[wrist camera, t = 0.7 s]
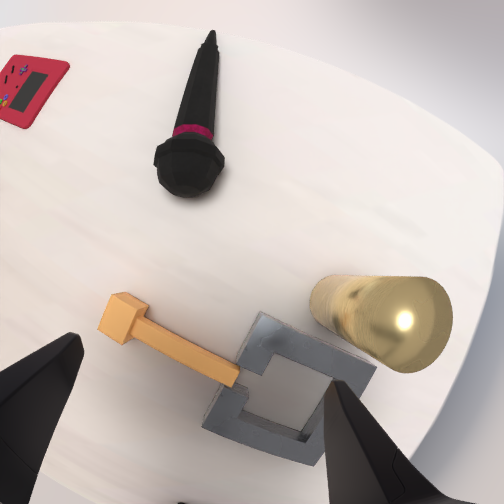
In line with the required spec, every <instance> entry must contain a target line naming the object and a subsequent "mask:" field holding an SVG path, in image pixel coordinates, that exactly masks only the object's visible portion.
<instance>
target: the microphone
mask: <svg viewBox="0 0 504 504" xmlns="http://www.w3.org/2000/svg"><path fill="white" fill-rule="evenodd" d="M218 62H219V52H218V46H217V45H216V32H215V30H211V31H210V33H209V34H208V36H207V38H206V40H205V42H204V43H203V44H201V48H199V49H198V52H197V55H196V57H195V60H194V63H193V66H192V69H191V72H190V76H189V79H188V82H187V85H186V88H185V91H184V95H183V98H182V102H181V105H180V108H179V112H178V115H177V119H176V123H175V126H174V130H173V134H172V136H173V137H171V138H169V139H167V140H166V141H165V143H163V144H161V145H159V146H157V149H156V153H155V158H154V166H155V167H157V175H158V179H159V183H160V184H161V185H162V186H163V187H164V188H166V189H167V190H168V191H169V192H170V193H172V194H173V195H176V196H180V197H195V196H199V195H201V194H202V193H204V192H206V191H208V190H209V189H210V188H211V186H212V185H213V183H214V181H215V179H216V177H217V175H219V174H220V172H221V170H222V169H223V167H224V160H225V157H224V156H223V155H222V153H221V152H220V151H219V149H218V148H217V147H216V146H215V145H214V143H213V142H212V141H211V140H212V138H213V134H214V117H215V102H216V87H217V74H218Z"/></svg>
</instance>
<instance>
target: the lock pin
mask: <svg viewBox="0 0 504 504" xmlns="http://www.w3.org/2000/svg"><path fill="white" fill-rule="evenodd" d="M148 306H149V305H147V304H145V303H143V302H142V301H140V300H138V299H137V298H135V297H133V296H131V295H130V294H128V293H126V292H122V293H116V294H112V295H111V297H110V299H109V302H108V304H107V306H106V309H105V311H104V314H103V316H102V319H101V321H100V324H99V326H98V329H97V330H99V331H100V332H102V333H104V334H105V335H107V336H108V337H110V338H111V339H113V340H114V341H116V342H118V343H119V344H121V345H123V344H125V343H126V342H128V341H129V340H131V339H133V338H134V337H135V338H137V339H138V340H140V341H142V342H144V343H145V344H147V345H149V346H151V347H152V348H154V349H156V350H158V351H159V352H161V353H163V354H165V355H167V356H169V357H170V358H172V359H174V360H176V361H178V362H180V363H182V364H184V365H186V366H188V367H190V368H192V369H194V370H196V371H198V372H200V373H202V374H204V375H206V376H208V377H210V378H212V379H214V380H216V381H218V382H220V383H223V384H225V385H227V386H229V387H232V385H233V383H234V382H235V380H236V378H237V376H238V374H239V373H240V366H238V365H236V364H233V363H231V362H229V361H227V360H225V359H223V358H221V357H219V356H217V355H215V354H213V353H211V352H209V351H207V350H205V349H203V348H201V347H199V346H197V345H195V344H193V343H191V342H189V341H187V340H185V339H183V338H181V337H179V336H178V335H176V334H174V333H172V332H170V331H168V330H167V329H165V328H163V327H161V326H159V325H158V324H156V323H154V322H152V321H150V320H149V319H147V318H145V317H144V315H145V313H146V310H147V308H148Z"/></svg>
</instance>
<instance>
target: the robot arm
mask: <svg viewBox="0 0 504 504" xmlns="http://www.w3.org/2000/svg"><path fill="white" fill-rule="evenodd" d="M83 357H84V348H83V345H82V341H81V337H80V336H79V335H78V334H75V333H72V332H69V333H67V334H65V335H63V336H61V337H60V338H58V339H56V340H54V341H53V342H51V343H49V344H47V345H46V346H44V347H42V348H40V349H39V350H37V351H35V352H33V353H32V354H30V355H28V356H26V357H25V358H23V359H21V360H20V361H18V362H16V363H14V364H13V365H11V366H9V367H7V368H6V369H4V370H2V371H1V372H0V504H28V503H29V501H30V497H31V494H32V491H33V488H34V485H35V482H36V479H37V476H38V475H37V474H38V472H39V470H40V467H41V464H42V461H43V459H44V456H45V453H46V451H47V448H48V445H49V443H50V440H51V438H52V435H53V433H54V430H55V428H56V426H57V423H58V421H59V418H60V416H61V414H62V411H63V409H64V407H65V405H66V402H67V400H68V398H69V396H70V393H71V391H72V389H73V386H74V383H75V380H76V377H77V374H78V371H79V368H80V365H81V362H82V360H83ZM324 446H325V456H326V466H327V477H328V489H329V502H330V504H475V503H470V502H465V501H460V500H456V499H452V498H450V497H448V496H446V495H444V494H442V493H441V492H440V491H439V490H438V489H437V488H436V487H434V485H433V484H431V483H430V482H429V481H428V480H427V479H426V478H425V477H424V476H423V475H422V474H421V473H420V472H419V471H418V470H417V469H416V468H415V467H414V466H413V465H412V464H411V463H410V461H409V460H408V459H407V458H406V457H405V455H404V454H403V453H402V452H401V450H400V449H399V448H398V447H397V446H396V444H395V443H394V442H393V441H392V439H391V438H390V437H389V436H388V434H387V433H386V432H385V431H384V430H383V428H382V427H381V426H380V425H379V423H378V422H377V421H376V420H375V418H374V417H373V416H372V415H371V413H370V412H369V411H368V410H367V408H366V407H365V406H364V405H363V403H362V402H361V401H360V400H359V398H358V397H357V396H356V395H355V393H354V392H353V391H352V390H351V388H350V387H349V386H348V385H347V383H346V382H345V381H344V380H332V381H331V383H330V385H329V387H328V389H327V391H326V393H325V395H324ZM397 448H398V449H397ZM178 504H184V503H178Z"/></svg>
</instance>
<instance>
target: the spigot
mask: <svg viewBox="0 0 504 504" xmlns="http://www.w3.org/2000/svg"><path fill="white" fill-rule="evenodd" d="M310 309H311V312H312V315H313V317H314V318H315V319H316V321H317V322H319V323H320V324H321V325H323V326H324V327H326V328H327V329H329V330H331V331H332V332H334V333H335V334H337V335H338V336H340V337H341V338H343V339H345V340H346V341H348V342H349V343H351V344H352V345H354V346H356V347H357V348H359V349H360V350H362V351H364V352H365V353H367V354H368V355H370V356H371V357H373V358H375V359H376V360H378V361H379V362H381V363H383V364H384V365H386V366H387V367H389V368H391V369H393V370H394V371H397V372H400V373H414V372H417V371H420V370H422V369H424V368H426V367H427V366H429V365H430V364H432V363H433V362H434V361H435V360H436V359H437V358H438V357H439V355H440V354H441V353H442V351H443V349H444V348H445V346H446V344H447V342H448V339H449V337H450V333H451V329H452V322H453V312H452V306H451V302H450V299H449V296H448V295H447V293H446V291H445V290H444V288H443V287H442V286H441V285H440V284H439V283H437V282H436V281H434V280H433V279H430V278H427V277H405V276H357V275H331V276H328V277H325V278H324V279H322V280H321V281H319V282H318V283H317V284H316V286H315V287H314V289H313V291H312V293H311V297H310Z"/></svg>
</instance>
